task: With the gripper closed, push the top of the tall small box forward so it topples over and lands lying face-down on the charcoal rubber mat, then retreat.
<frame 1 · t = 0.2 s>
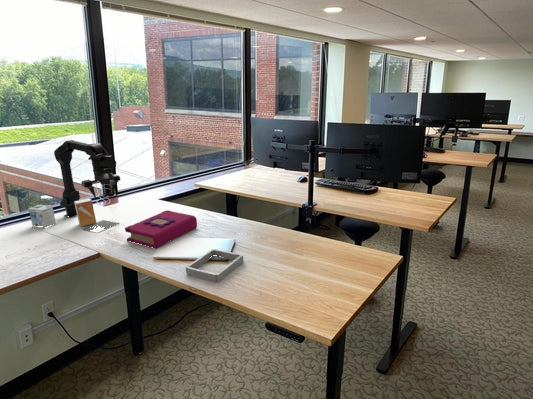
hand: (104, 196, 208), 14 cm above the table, fingers open, 9 cm apart
small box: (88, 224, 209), on the table, touching mat
light bulb box: (44, 225, 210), on the table
book: (162, 235, 191), on the table
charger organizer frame: (215, 267, 154), on the table
mat: (100, 226, 205), on the table
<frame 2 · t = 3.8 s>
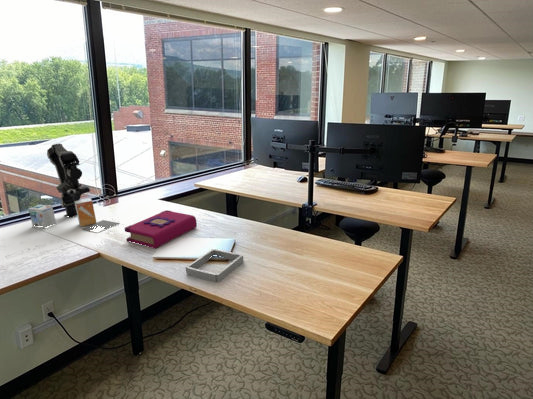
hand: (77, 204, 208), 11 cm above the table, fingers closed
small box: (88, 223, 209), on the table, touching gripper, mat
everything else where it was.
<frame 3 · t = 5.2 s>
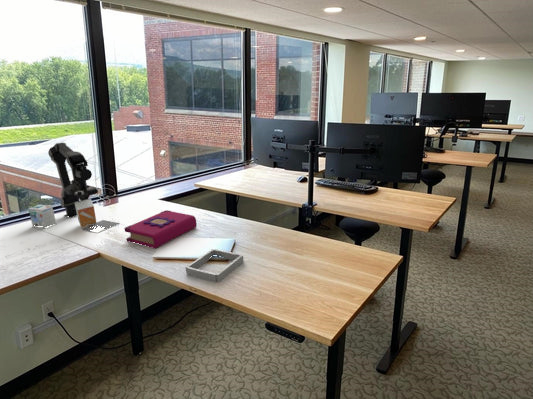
hand: (85, 205, 206), 11 cm above the table, fingers closed
small box: (87, 221, 209), point 1 cm above the table, touching mat
everything else where it was.
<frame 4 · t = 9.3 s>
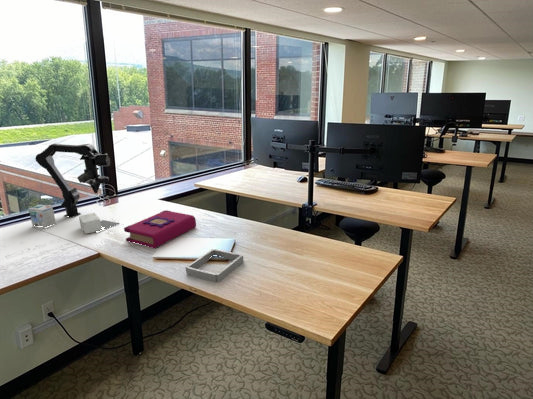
hand: (96, 193, 221), 12 cm above the table, fingers closed
small box: (87, 219, 206), point 3 cm above the table, touching mat
everything else where it was.
at the end: small box tilted 89°; small box inside the target area (7.6 cm from its centre), point 3.3 cm above the table; small box moved 4.4 cm from its start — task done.
